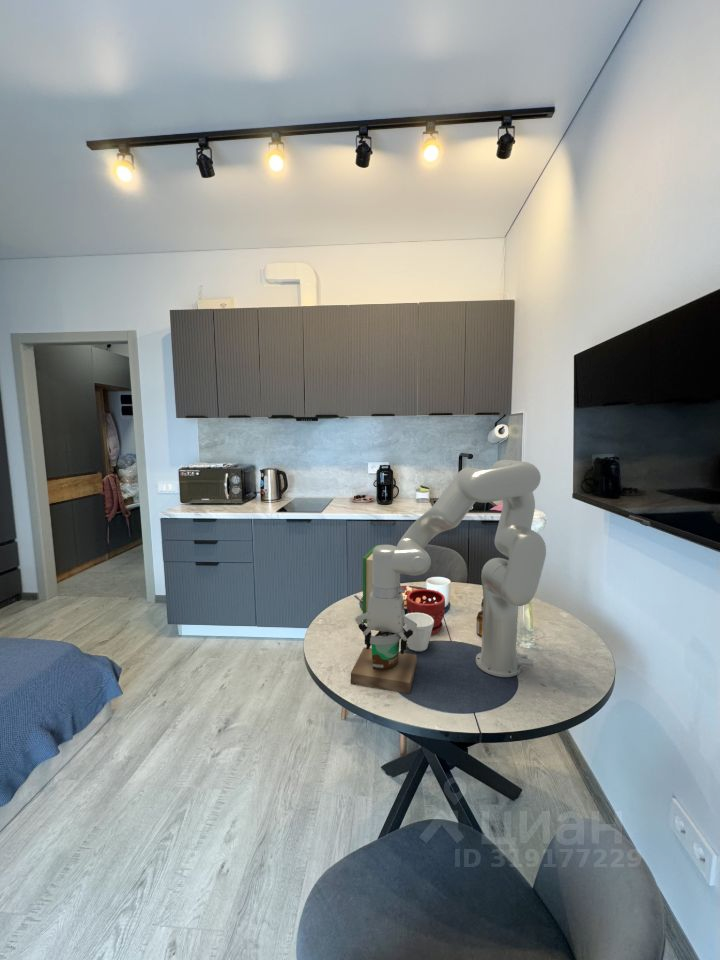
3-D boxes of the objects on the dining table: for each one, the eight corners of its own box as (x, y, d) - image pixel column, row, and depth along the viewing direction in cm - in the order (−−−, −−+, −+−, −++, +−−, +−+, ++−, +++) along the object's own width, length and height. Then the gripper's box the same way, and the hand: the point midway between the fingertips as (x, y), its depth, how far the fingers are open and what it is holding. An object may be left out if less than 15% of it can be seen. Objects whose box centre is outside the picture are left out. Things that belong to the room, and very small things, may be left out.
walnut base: (416, 664, 119) (416, 654, 119) (409, 693, 106) (409, 682, 105) (363, 656, 123) (363, 647, 123) (350, 683, 110) (350, 673, 109)
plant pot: (404, 620, 148) (405, 588, 146) (441, 620, 147) (441, 588, 146) (407, 637, 135) (408, 603, 134) (447, 638, 134) (448, 603, 133)
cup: (424, 637, 135) (425, 610, 134) (439, 652, 126) (439, 624, 125) (396, 641, 132) (397, 614, 131) (409, 657, 123) (410, 628, 122)
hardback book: (382, 626, 143) (383, 559, 140) (362, 623, 145) (362, 557, 143) (393, 606, 160) (394, 546, 157) (375, 603, 162) (375, 545, 159)
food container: (390, 678, 107) (390, 641, 106) (370, 671, 110) (369, 636, 109) (409, 656, 118) (409, 623, 117) (390, 650, 121) (390, 618, 120)
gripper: (419, 588, 113) (418, 646, 115) (359, 582, 118) (359, 638, 119) (415, 599, 106) (414, 661, 108) (352, 592, 110) (352, 651, 112)
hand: (385, 649), depth 114 cm, fingers open, 9 cm apart
